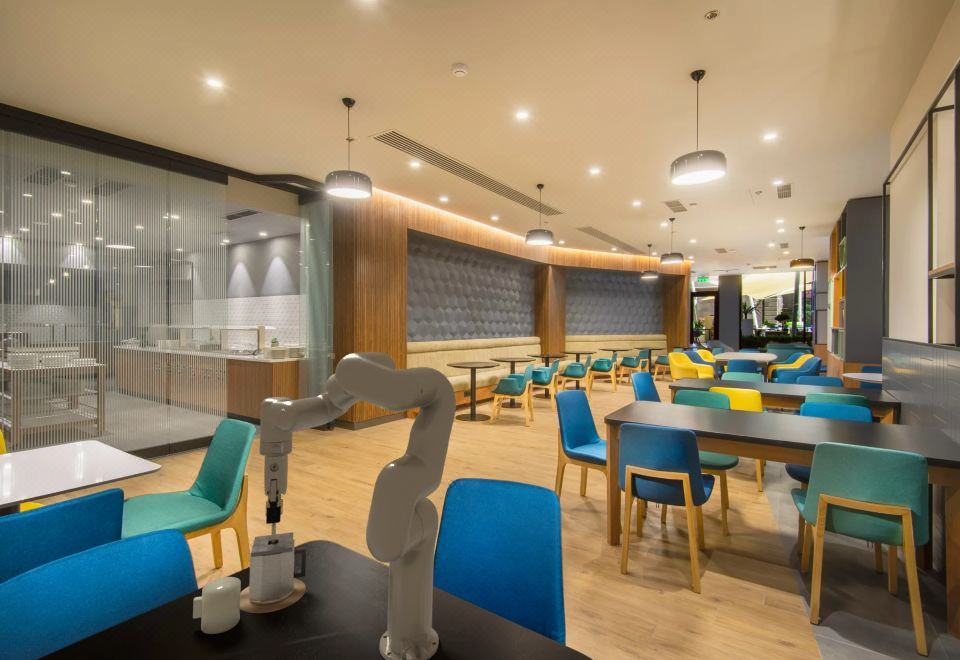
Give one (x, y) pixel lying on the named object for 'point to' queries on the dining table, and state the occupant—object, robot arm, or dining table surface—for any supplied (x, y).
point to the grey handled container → (273, 569)
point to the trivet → (297, 594)
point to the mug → (218, 605)
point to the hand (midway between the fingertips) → (274, 518)
